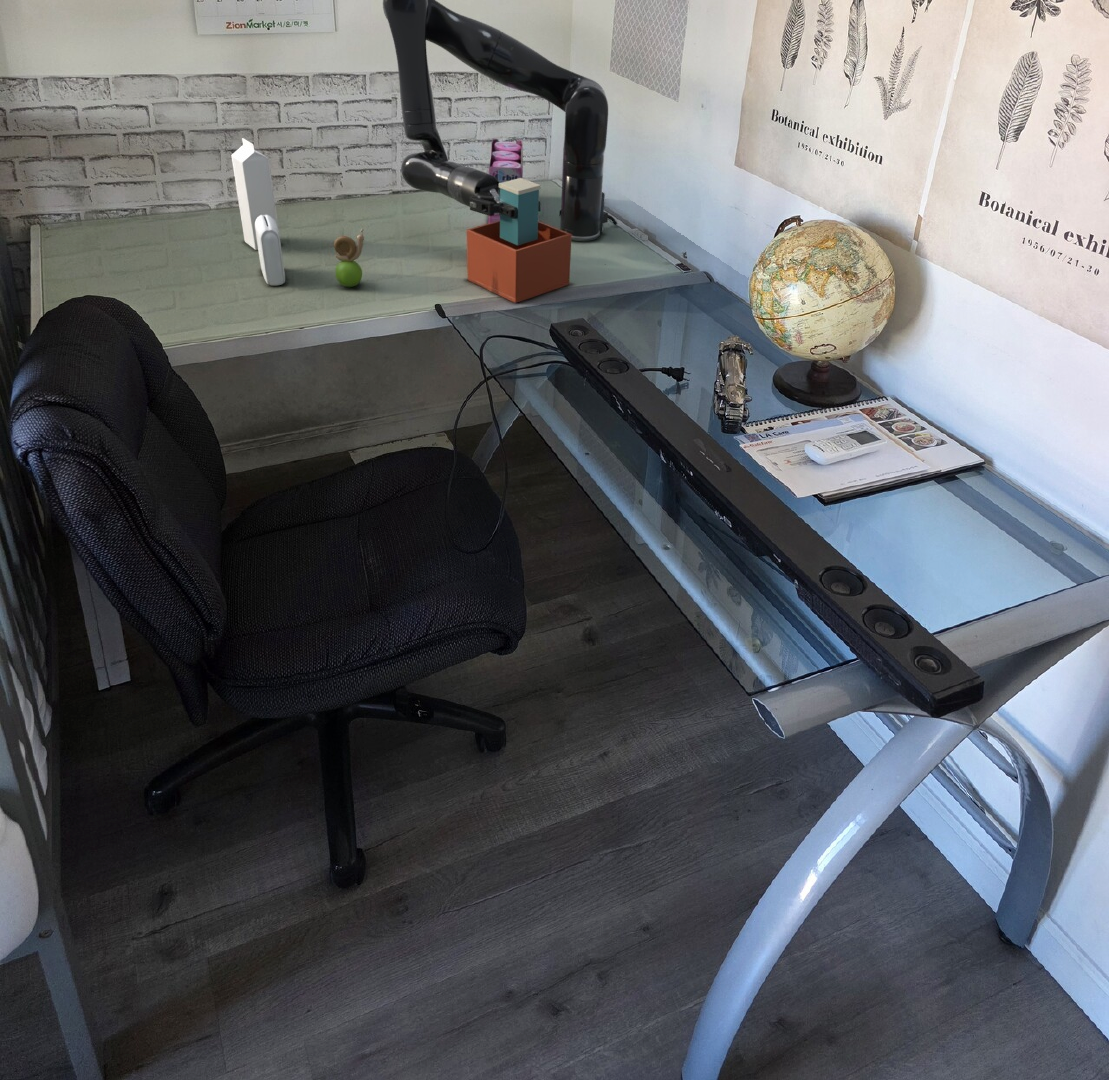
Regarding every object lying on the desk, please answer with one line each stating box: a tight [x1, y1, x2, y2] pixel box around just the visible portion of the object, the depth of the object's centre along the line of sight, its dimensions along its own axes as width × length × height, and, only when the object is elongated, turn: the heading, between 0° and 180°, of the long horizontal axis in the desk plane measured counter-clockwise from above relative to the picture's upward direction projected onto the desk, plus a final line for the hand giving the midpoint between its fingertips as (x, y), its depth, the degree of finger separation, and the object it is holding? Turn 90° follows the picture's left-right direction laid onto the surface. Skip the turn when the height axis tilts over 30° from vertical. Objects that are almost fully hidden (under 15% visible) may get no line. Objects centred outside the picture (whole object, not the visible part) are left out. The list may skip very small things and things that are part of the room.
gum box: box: [488, 138, 524, 224], centre depth 241 cm, size 24×8×14 cm, turn 1°
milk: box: [231, 137, 280, 251], centre depth 215 cm, size 6×6×22 cm
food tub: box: [499, 178, 541, 245], centre depth 200 cm, size 6×6×11 cm
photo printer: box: [255, 215, 286, 286], centre depth 203 cm, size 10×4×12 cm, turn 20°
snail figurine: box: [333, 227, 365, 288], centre depth 201 cm, size 5×6×12 cm
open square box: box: [466, 220, 572, 304], centre depth 205 cm, size 15×15×11 cm
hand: (527, 210), depth 198 cm, fingers closed on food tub, 5 cm apart
